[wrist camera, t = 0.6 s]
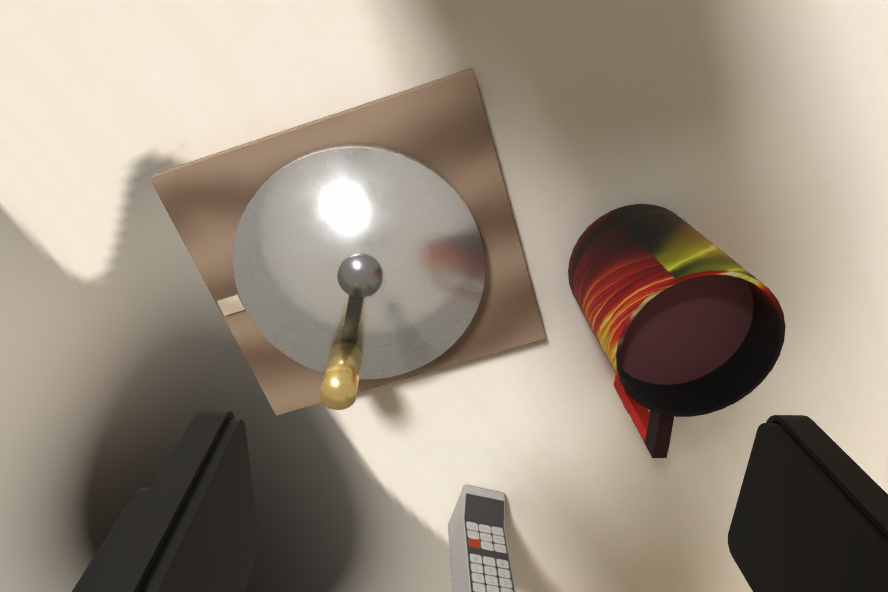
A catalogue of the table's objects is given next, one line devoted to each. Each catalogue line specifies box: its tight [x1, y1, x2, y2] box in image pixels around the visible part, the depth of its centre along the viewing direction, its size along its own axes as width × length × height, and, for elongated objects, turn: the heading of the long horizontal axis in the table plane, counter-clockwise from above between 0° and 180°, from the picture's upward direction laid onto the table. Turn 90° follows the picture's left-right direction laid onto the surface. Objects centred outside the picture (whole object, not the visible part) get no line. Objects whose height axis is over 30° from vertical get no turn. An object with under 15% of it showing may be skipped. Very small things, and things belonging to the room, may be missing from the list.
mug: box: [568, 204, 785, 458], centre depth 41 cm, size 10×14×12 cm
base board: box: [150, 69, 546, 415], centre depth 43 cm, size 20×22×2 cm
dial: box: [233, 143, 485, 410], centre depth 39 cm, size 17×17×6 cm
